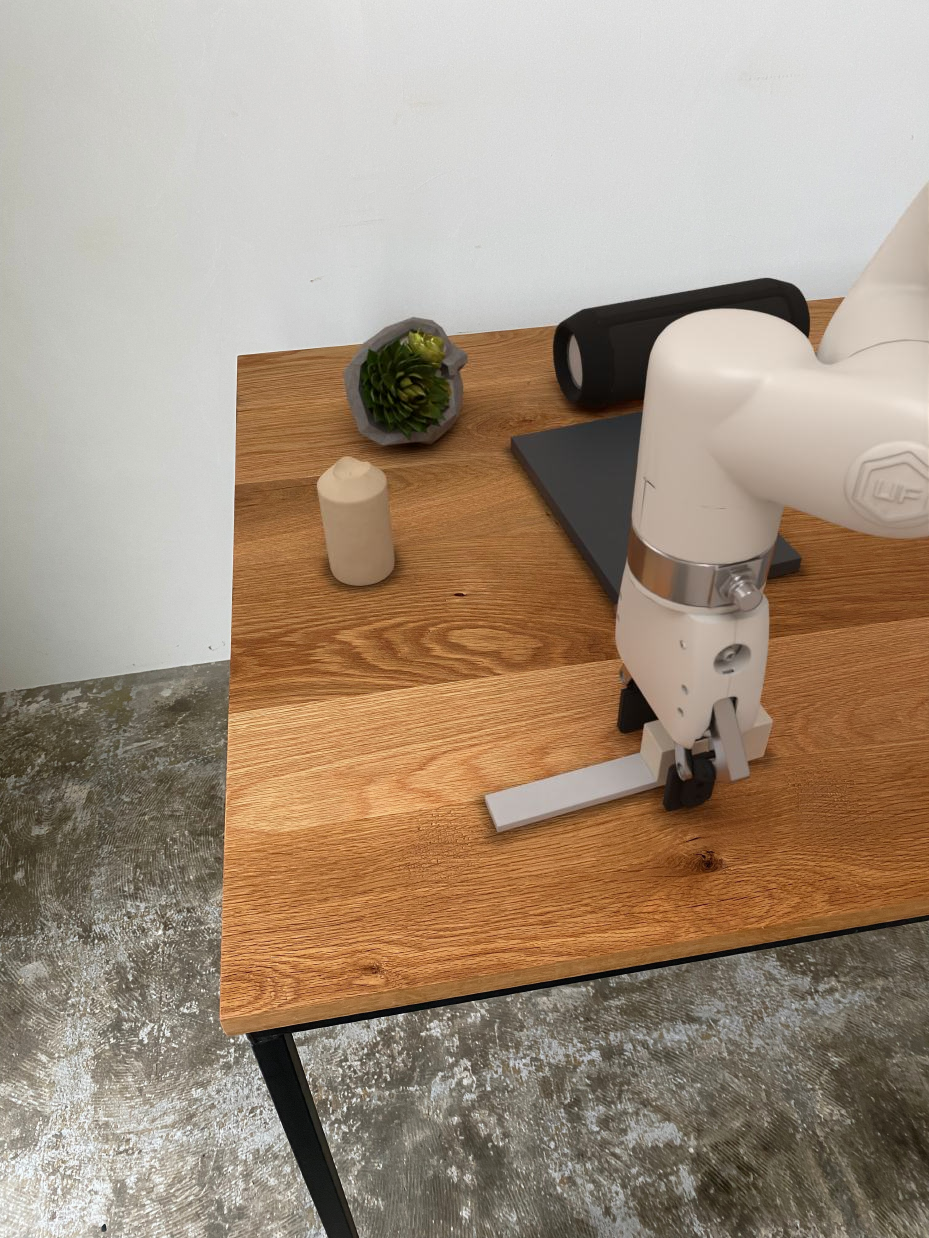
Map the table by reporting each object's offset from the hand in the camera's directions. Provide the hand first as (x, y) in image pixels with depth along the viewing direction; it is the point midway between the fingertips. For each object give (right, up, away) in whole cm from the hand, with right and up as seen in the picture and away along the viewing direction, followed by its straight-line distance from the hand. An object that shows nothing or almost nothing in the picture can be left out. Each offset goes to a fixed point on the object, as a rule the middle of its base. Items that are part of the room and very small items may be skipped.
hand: (662, 761), depth 62 cm
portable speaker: (+10, +35, +39) cm, 53 cm away
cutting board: (+3, +20, +23) cm, 30 cm away
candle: (-22, +14, +18) cm, 31 cm away
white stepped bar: (-2, -1, 0) cm, 2 cm away
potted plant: (-18, +28, +33) cm, 47 cm away
